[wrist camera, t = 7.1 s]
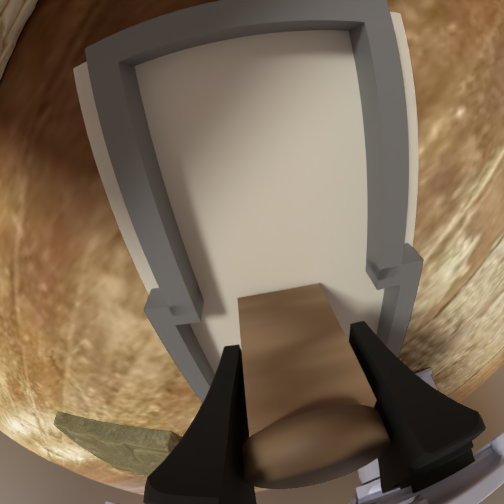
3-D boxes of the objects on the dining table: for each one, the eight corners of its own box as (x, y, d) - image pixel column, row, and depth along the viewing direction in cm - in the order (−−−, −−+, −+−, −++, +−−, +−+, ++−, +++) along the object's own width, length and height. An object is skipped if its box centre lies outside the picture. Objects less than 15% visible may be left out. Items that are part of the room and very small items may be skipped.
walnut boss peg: (328, 272, 13) (408, 416, 6) (326, 344, 15) (373, 467, 8) (225, 290, 13) (230, 460, 6) (242, 360, 15) (255, 494, 8)
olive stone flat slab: (118, 456, 36) (116, 471, 33) (56, 407, 26) (49, 427, 23) (213, 467, 36) (213, 484, 33) (176, 426, 25) (173, 453, 22)
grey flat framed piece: (391, 16, 7) (419, 6, 5) (383, 354, 19) (393, 378, 17) (82, 69, 8) (52, 67, 6) (206, 385, 20) (204, 411, 17)
